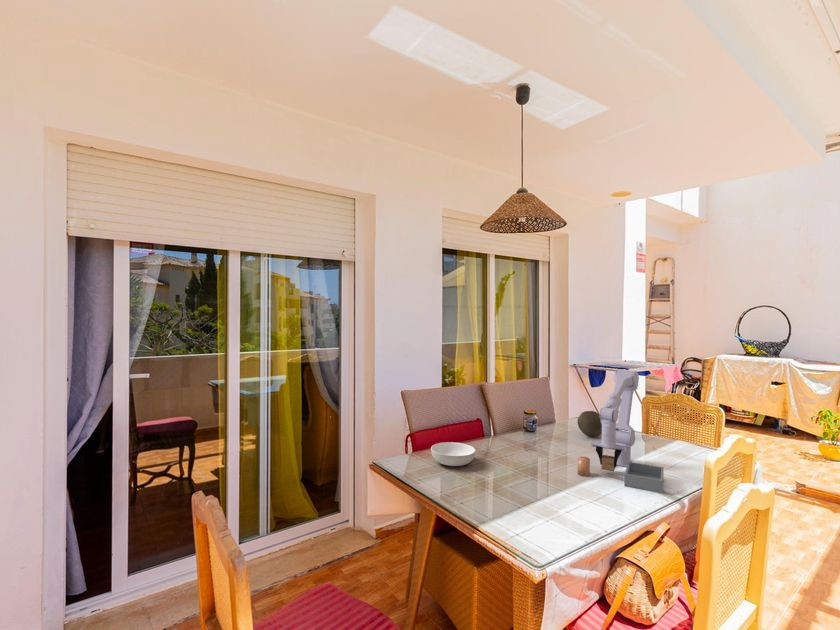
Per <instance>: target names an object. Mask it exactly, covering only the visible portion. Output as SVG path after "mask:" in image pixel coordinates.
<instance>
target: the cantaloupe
mask: <svg viewBox="0 0 840 630" xmlns="http://www.w3.org/2000/svg"><path fill="white" fill-rule="evenodd" d="M576 423H577V426H578V429H579V430H580V431H581V432H582V433H583V434H584V435H585V436H587V437H588V438H598V437H600V436H602V424H601V419H600V413H599V412H597V411H594V410H586V411H582V412H581V413H580V414H579V415H578V417H577V422H576Z"/></svg>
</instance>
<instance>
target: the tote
mask: <svg viewBox="0 0 840 630" xmlns="http://www.w3.org/2000/svg"><path fill="white" fill-rule="evenodd" d="M625 468H626V469H625V471H624V487H626V488H632V489H636V490H642V491H648V492H651V493H657V494H664V493H663V492H664V475H665V473H664V472H665V471H664V470H665V469H664V467H662V466H657V465H650V464H646V463H645V464H644V463H641V462H640V463H639V462H634V461H632V462H628V465H627V467H625Z"/></svg>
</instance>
